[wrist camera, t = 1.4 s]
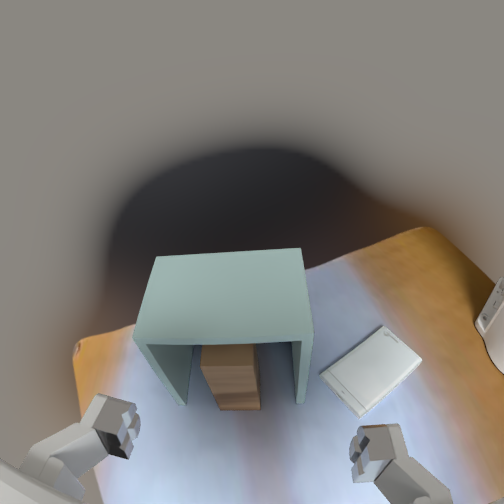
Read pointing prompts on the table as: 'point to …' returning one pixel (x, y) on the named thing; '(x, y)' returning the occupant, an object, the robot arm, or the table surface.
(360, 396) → the hard drive
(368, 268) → the table surface
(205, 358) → the walnut block
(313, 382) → the table surface
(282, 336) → the tunnel
